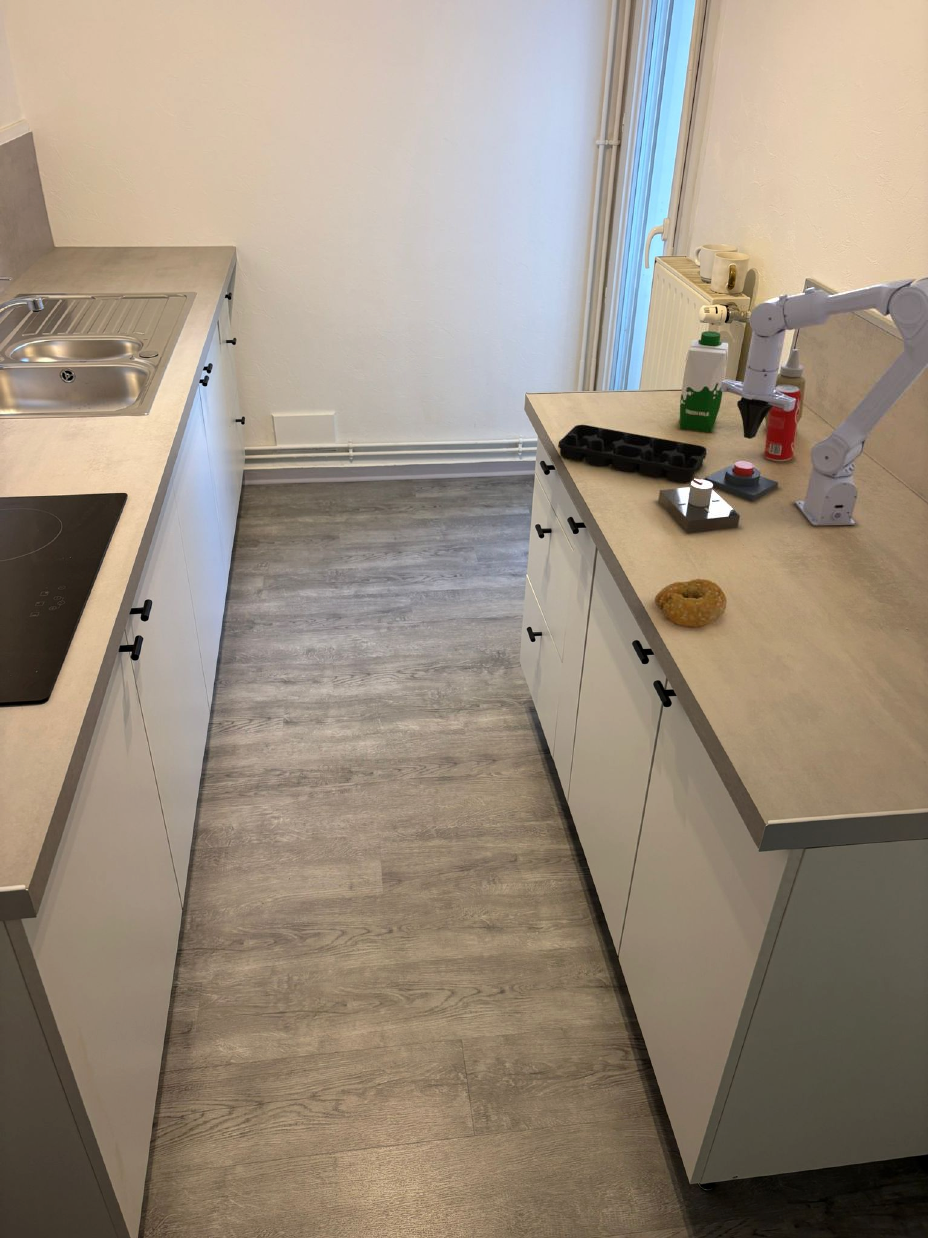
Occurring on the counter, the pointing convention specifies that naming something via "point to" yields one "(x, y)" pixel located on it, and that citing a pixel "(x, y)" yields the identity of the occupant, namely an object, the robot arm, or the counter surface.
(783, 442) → the beverage can
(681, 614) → the bagel
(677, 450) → the egg carton
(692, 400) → the milk carton
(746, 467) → the power button
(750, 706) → the counter surface
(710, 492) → the hob knob
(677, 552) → the counter surface
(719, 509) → the panel
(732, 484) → the switch block
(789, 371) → the squeeze bottle
